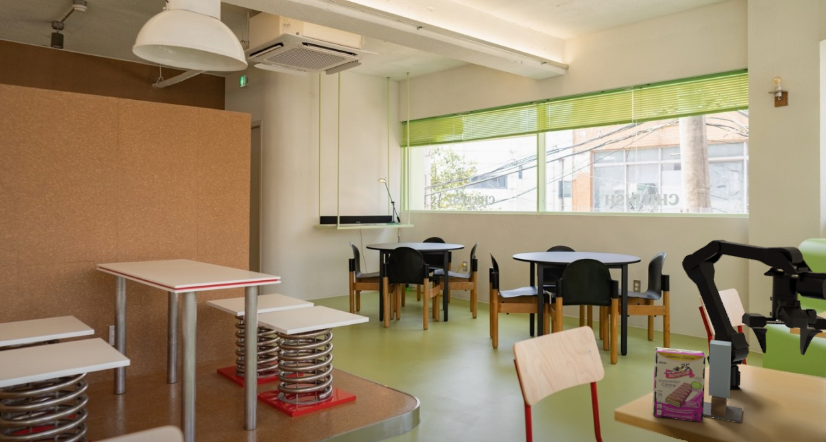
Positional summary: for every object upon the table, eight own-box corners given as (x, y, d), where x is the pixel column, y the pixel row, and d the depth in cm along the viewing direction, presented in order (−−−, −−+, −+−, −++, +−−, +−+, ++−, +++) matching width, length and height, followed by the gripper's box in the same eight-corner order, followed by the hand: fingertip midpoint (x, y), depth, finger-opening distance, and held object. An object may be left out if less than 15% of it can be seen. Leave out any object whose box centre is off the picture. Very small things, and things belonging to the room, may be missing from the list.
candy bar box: (653, 417, 141) (655, 351, 141) (652, 410, 146) (653, 346, 145) (704, 423, 138) (706, 355, 137) (701, 416, 142) (703, 350, 142)
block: (708, 395, 144) (709, 343, 143) (709, 390, 148) (711, 339, 147) (729, 398, 142) (730, 346, 141) (729, 393, 145) (731, 342, 145)
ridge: (710, 414, 142) (711, 398, 142) (713, 403, 149) (713, 388, 149) (724, 417, 140) (725, 400, 140) (726, 405, 148) (726, 390, 148)
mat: (694, 414, 143) (694, 412, 143) (698, 403, 152) (698, 400, 152) (741, 423, 138) (741, 420, 138) (742, 410, 147) (742, 407, 147)
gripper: (759, 298, 145) (757, 360, 146) (841, 301, 142) (839, 364, 142) (741, 291, 156) (740, 349, 157) (818, 294, 153) (816, 352, 153)
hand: (783, 353), depth 152 cm, fingers open, 9 cm apart
